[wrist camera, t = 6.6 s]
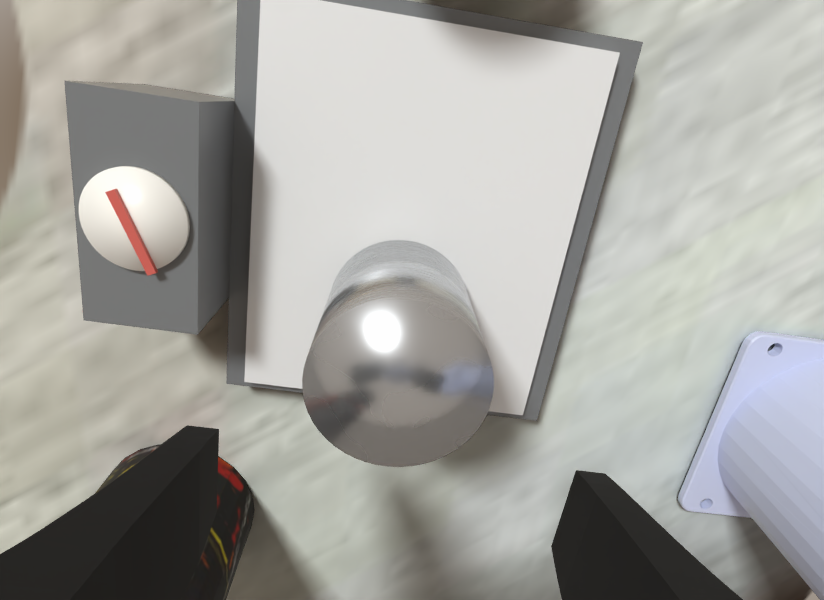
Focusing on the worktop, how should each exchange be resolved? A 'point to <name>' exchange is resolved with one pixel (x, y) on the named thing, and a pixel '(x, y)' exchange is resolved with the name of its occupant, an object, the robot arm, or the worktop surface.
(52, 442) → the worktop surface
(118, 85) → the scale
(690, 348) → the worktop surface
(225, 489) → the deodorant
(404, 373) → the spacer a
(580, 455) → the worktop surface
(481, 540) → the worktop surface
